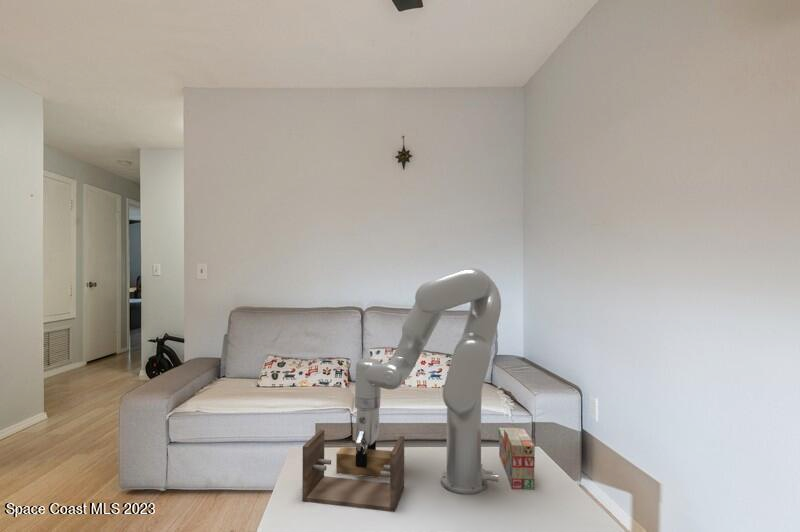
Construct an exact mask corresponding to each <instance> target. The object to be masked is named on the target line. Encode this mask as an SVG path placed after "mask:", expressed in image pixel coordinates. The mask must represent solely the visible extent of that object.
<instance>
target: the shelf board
mask: <svg viewBox="0 0 800 532" xmlns="http://www.w3.org/2000/svg"><path fill="white" fill-rule="evenodd" d="M391 452H392V450H383V449H376V450H373V449H367V450H366V453H367V467H366V468H362V467H356V447H349V446H341V448H339V449H338V451H337V452H336V454H335V455H336V469H335V470H336V471H335V473H336V474H339V473H342V474H341V475H349V474H352V476H358V475H362V476H361V477H368V476H373V477H372V478H378V477H381V478H382V479H388V478H390V477H385V476H380V471H387V472H390V470H384V469H383V467H384V465H390V454H391ZM381 478H380V479H381Z"/></svg>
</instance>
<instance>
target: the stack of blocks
mask: <svg viewBox="0 0 800 532" xmlns="http://www.w3.org/2000/svg"><path fill="white" fill-rule="evenodd" d="M498 447H499V448H498V449H499V452H498V453H499V454H498V455H499V459H500V462H501V464H502V467H503V469H504V471H505V474H506V477H507V480H508V482H509V486H510V487H511V490H530V491H531V490H532V491H533V490H535V482H536V481H535V466H536V464H535V463H536V462H535V459H536V458H535V454H536V453H535V452H536V450H535V449H536V448H535V447H536V445H535V444H534V442H533V440H532V438H531V437H530V436H529V434H528V432H527V431H526V429H525V428H518V427H498Z"/></svg>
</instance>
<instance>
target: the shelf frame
mask: <svg viewBox="0 0 800 532" xmlns="http://www.w3.org/2000/svg"><path fill="white" fill-rule="evenodd" d="M391 451H392V452H391V454H390V465H384V467H383V469H384V470H390V472H387V471H380V476H385V477H390V479H389V482H386V481H377V480H367V479H355V478H345V477H337V476H335V477H334V476H328V475H327V476H326V475H325V471H327V467H328V466H327V465H329V466H330V465H332V459H325V429H320V430H319V431H318V432H317V433H315V435H313V436H312V437H311V438H310V439H309V440H308V441H307V442H306V443H305V444H303V445H302V480H301V482H302V489H301V490H302V491H301V492H302V498H301V499H302V500H301V501H302V502H307V503H316V504H325V505H334V506H340V507H341V506H342V507H349V508H351V507H352V508H358V509H359V508H360V509H369V510H376V511H377V510H378V511H386V512H396V510H397V507H398V505H399V503H400V500H401V498H402V495H403V492H404V490H405V436H404V435H402V436H401V435H400V436H399V437H398V439H397V441H396V442H395V445H394V447H393V449H392V450H391Z"/></svg>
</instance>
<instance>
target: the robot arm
mask: <svg viewBox="0 0 800 532" xmlns="http://www.w3.org/2000/svg"><path fill="white" fill-rule="evenodd" d="M414 296H415V297H414V299H415V302H414V303H413V305H412V307H411V309H410V310H409V313H408V315H407V317H406V319H405V320H404V322H403V324H402V327H401V332H402V333H401V338H400V341H399V342H398V344H397V346H396V349H395V350H394V353H393V355H392V356H391V358H390V359H389V360H388V361H386V362H384V363H382V362H381V361H380V360H379V359H375V358H362V359H358V360H357V362H356V363H355V383H354V385H355V389H354V391H355V392H354V408H355V409H356V411H357V412H356V421H355V436H354V437H355V438H354V439H355V446H356V447H355V448H356V467H362V468H366V467H367V453H366V450H367V449H373V450H377V449H376V448H377V438H378V437H379V435H380V407H381V392H382V390H381V389H385V390H388V391H389V390H390V391H391V390H396V389H398V388H400V387H401V386H402V384H403V383H404V382H405V381H406V380H408V378H409V376H410V375H411V373H412V371H413V370H414V368H415V366H416V364H417V363H418V360H419V358H420V357H421V354H422V352H423V350H424V348H425V347H426V346H427V344H428V342H429V339H430V338H431V336H432V334H433V332H434V330H435V329H436V326H437V325H438V322H439V320H440V319H441V317H442V316H443V314H444V312H445V311H447V310H450V309H453V308H455V307H459V306H462V305H464V304H465V305H466V304H468V303H469V304H470V307H469V311H468V315H467V319H466V323H465V326H464V329H463V332H462V335H461V338H460V339H459V341H458V342H457V344H456V346H455V348H454V350H453V353H452V356H451V361H450V364H449V367H448V370H447V375H446V378H445V381H444V385H443V388H442V400H443V402H444V405H445V407H446V471H445V472H444V473H443V474H442V475H441V478H440V480H441V481H440V482H441V485H442V486H443V487H444V488H445V489H447V490H448V491H451V492H453V493H458V494H461V495H462V494H463V495H464V494H466V495H470V494H471V495H472V494H477V493H480V492H482V491H484V490H485V489H486V488H487V486H488V481H489V482H494V483H499V482H498V481H499V480H498V479H499V474H498V473H494V470H490V469H489V470H485V468H483V463H482V396H483V395H482V392H483V391H482V390H483V388H484V387H483V386H484V383H485V381H486V377H487V373H488V370H489V367H490V362H491V359H492V351H493V349H492V347H493V344H494V341H495V335H496V333H497V330H498V329H497V328H498V324H499V321H500V317H501V311H502V300H501V294H500V291H499V288H498V287H497V284H496V283H495V282H494V281H493V279H491V277H490V276H489V275H487V274H486V273H485V272H484V271H483V270H480V269H477V268H465V269H463V270H460V271H457V272H454V273H452V274H450V275H447V276H443V277H441V278H437V279H433V280H431V281H428V282H425V283H422V284H421V285H420V286H419V287H418V289H417V290H416V292H415V295H414Z"/></svg>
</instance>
